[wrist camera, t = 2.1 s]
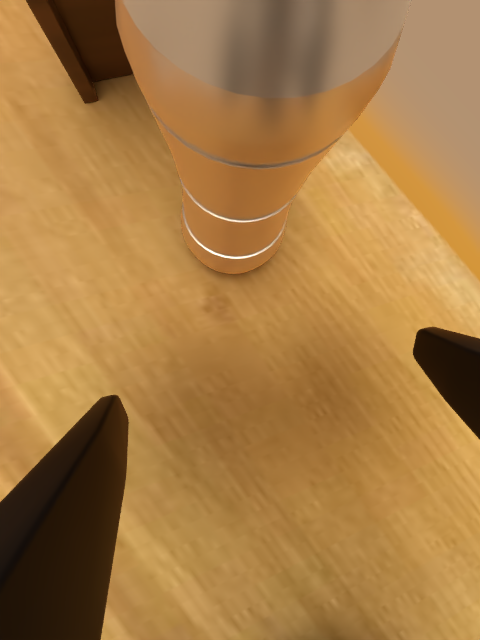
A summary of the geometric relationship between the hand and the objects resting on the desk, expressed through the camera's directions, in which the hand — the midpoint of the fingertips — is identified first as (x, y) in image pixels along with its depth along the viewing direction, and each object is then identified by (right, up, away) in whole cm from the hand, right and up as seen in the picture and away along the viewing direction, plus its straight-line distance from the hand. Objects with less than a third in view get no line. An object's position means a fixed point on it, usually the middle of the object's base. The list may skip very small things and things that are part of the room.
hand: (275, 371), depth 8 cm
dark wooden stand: (-7, +17, +13) cm, 23 cm away
